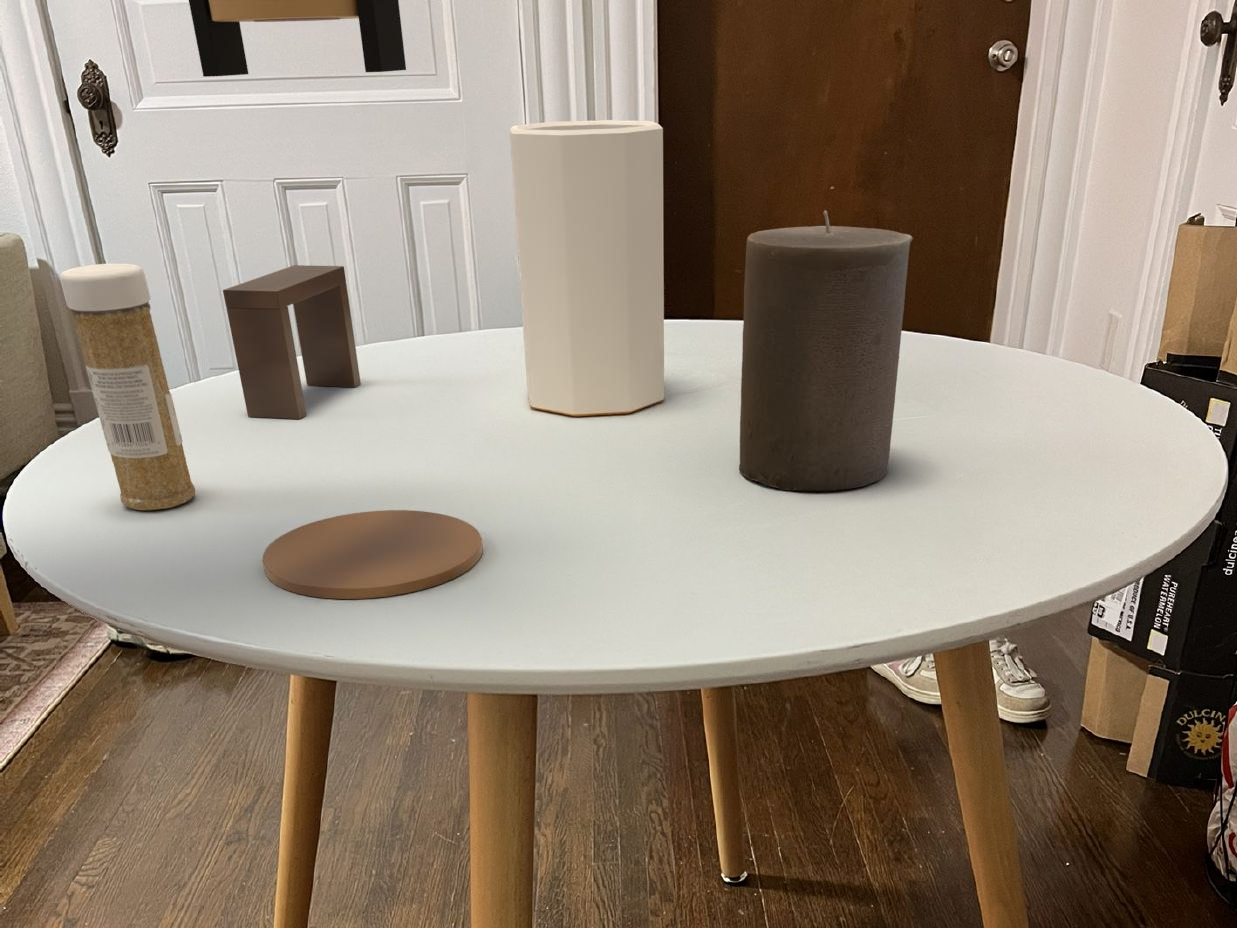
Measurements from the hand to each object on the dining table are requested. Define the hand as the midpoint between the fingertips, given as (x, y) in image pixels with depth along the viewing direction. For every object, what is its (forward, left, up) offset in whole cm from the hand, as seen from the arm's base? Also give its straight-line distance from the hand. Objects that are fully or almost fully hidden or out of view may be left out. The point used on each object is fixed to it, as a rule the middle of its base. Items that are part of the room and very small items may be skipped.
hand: (305, 72), depth 53 cm
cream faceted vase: (+3, +35, -23) cm, 42 cm away
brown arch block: (-20, +31, -23) cm, 43 cm away
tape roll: (0, 0, +2) cm, 2 cm away
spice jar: (-18, +6, -23) cm, 30 cm away
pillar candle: (+22, +20, -23) cm, 37 cm away
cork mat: (0, 0, -23) cm, 23 cm away
